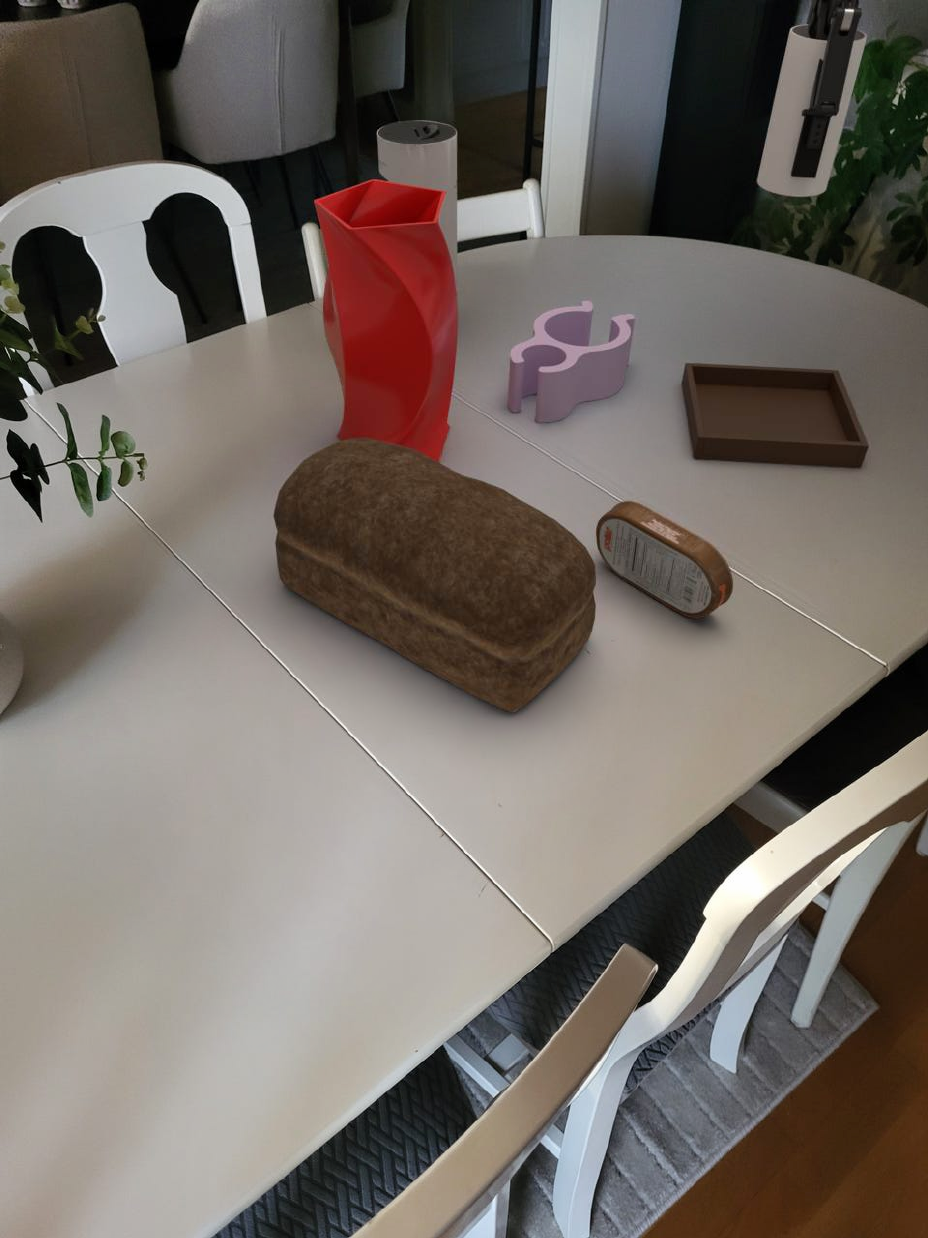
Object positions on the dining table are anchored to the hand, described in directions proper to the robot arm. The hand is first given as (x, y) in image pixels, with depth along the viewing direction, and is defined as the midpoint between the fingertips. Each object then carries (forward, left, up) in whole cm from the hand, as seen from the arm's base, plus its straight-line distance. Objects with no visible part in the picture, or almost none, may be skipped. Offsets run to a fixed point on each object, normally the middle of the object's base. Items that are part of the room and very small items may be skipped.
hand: (797, 162), depth 112 cm
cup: (0, 0, -3) cm, 3 cm away
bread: (+38, +55, -26) cm, 72 cm away
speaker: (+46, -6, -26) cm, 53 cm away
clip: (+25, +10, -26) cm, 37 cm away
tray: (0, +17, -25) cm, 31 cm away
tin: (+16, +50, -26) cm, 58 cm away
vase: (+46, +26, -26) cm, 59 cm away
